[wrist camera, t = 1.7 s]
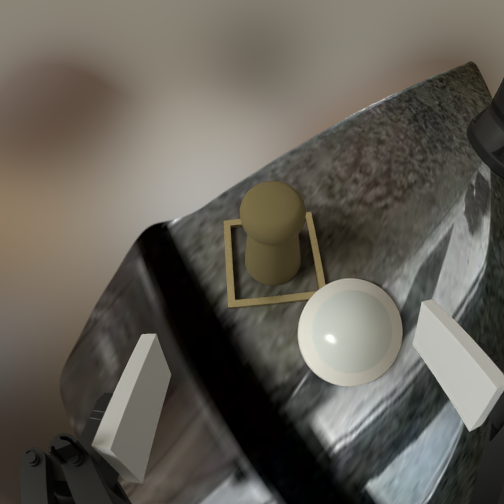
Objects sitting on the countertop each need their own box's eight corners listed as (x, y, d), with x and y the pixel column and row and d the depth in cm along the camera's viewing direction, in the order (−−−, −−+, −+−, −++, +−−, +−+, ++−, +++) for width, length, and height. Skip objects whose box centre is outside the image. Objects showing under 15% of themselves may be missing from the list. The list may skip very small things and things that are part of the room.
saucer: (387, 275, 29) (391, 271, 28) (405, 373, 24) (410, 372, 23) (291, 288, 29) (291, 284, 28) (303, 394, 25) (304, 395, 24)
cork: (234, 251, 31) (217, 191, 21) (280, 224, 32) (282, 158, 22) (264, 296, 29) (260, 252, 19) (312, 266, 30) (330, 210, 20)
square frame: (310, 214, 33) (310, 212, 32) (326, 297, 28) (327, 296, 28) (224, 223, 33) (223, 220, 32) (229, 308, 29) (228, 307, 28)
